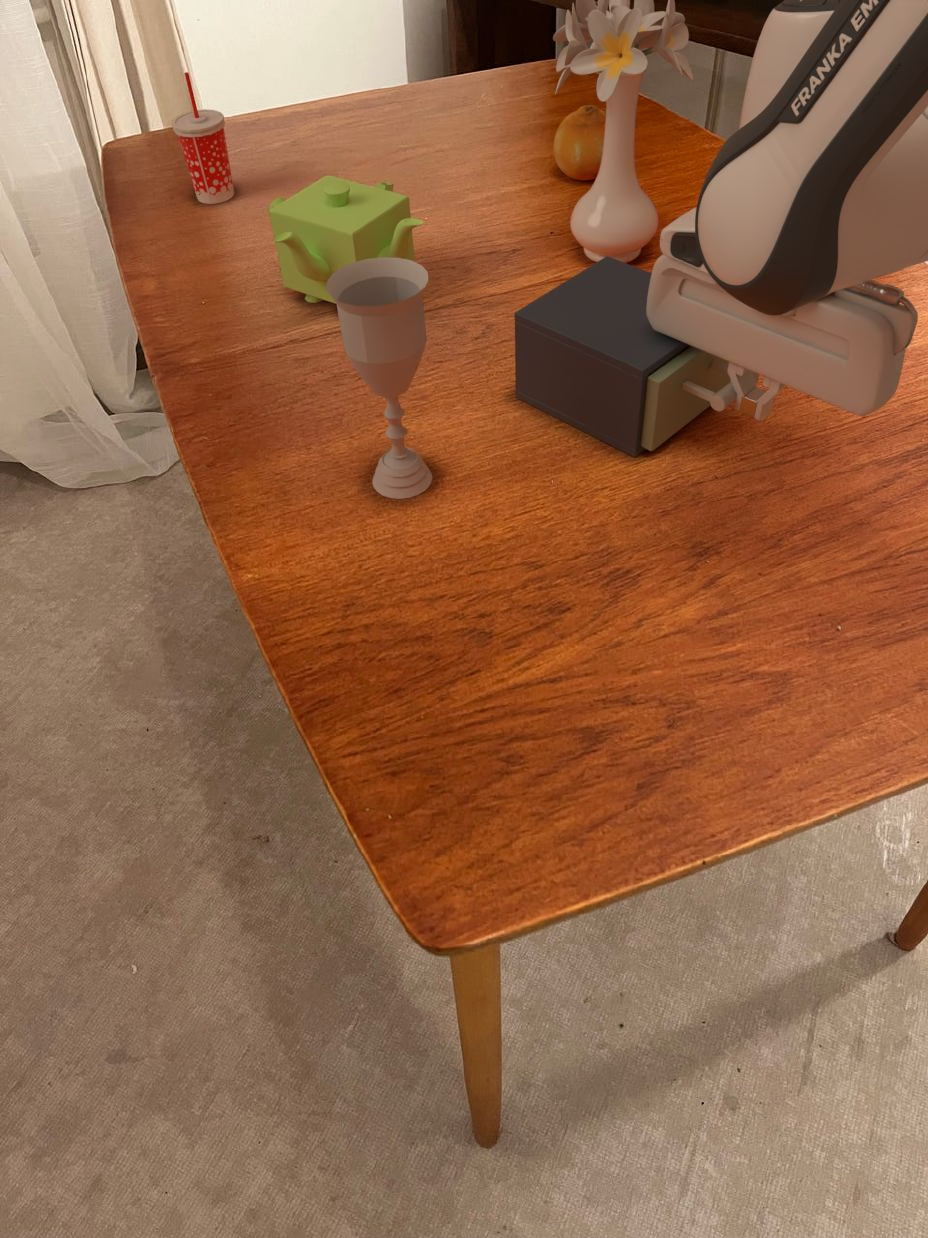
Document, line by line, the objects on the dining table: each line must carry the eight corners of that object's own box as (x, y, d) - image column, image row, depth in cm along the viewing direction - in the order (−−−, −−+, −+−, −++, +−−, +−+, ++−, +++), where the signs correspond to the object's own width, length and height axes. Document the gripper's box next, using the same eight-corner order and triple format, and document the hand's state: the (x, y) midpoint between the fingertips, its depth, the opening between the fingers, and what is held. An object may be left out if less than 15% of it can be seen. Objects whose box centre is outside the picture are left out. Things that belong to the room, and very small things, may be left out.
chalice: (367, 513, 80) (335, 314, 66) (352, 463, 84) (318, 267, 71) (454, 494, 81) (439, 294, 68) (434, 446, 85) (416, 249, 72)
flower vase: (642, 205, 114) (663, -48, 96) (690, 283, 102) (725, 10, 83) (532, 218, 113) (532, -35, 95) (567, 298, 101) (575, 26, 82)
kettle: (432, 317, 100) (422, 209, 91) (293, 341, 98) (271, 233, 90) (405, 248, 110) (394, 145, 101) (279, 269, 108) (258, 166, 100)
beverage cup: (246, 184, 123) (219, 62, 113) (233, 206, 119) (204, 82, 109) (199, 184, 124) (168, 63, 113) (184, 206, 120) (152, 83, 109)
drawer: (770, 408, 85) (785, 339, 80) (693, 472, 80) (704, 402, 75) (617, 341, 93) (622, 275, 88) (538, 395, 88) (539, 328, 83)
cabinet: (720, 391, 89) (735, 304, 82) (635, 458, 83) (643, 370, 77) (601, 339, 95) (607, 255, 89) (515, 397, 90) (514, 312, 83)
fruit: (587, 178, 114) (607, 103, 111) (533, 167, 118) (550, 95, 116) (622, 192, 120) (642, 122, 118) (569, 182, 125) (587, 113, 122)
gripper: (947, 278, 65) (891, 445, 76) (692, 194, 76) (673, 351, 86) (901, 317, 63) (849, 485, 73) (642, 224, 73) (628, 383, 83)
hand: (752, 412), depth 79 cm, fingers closed
